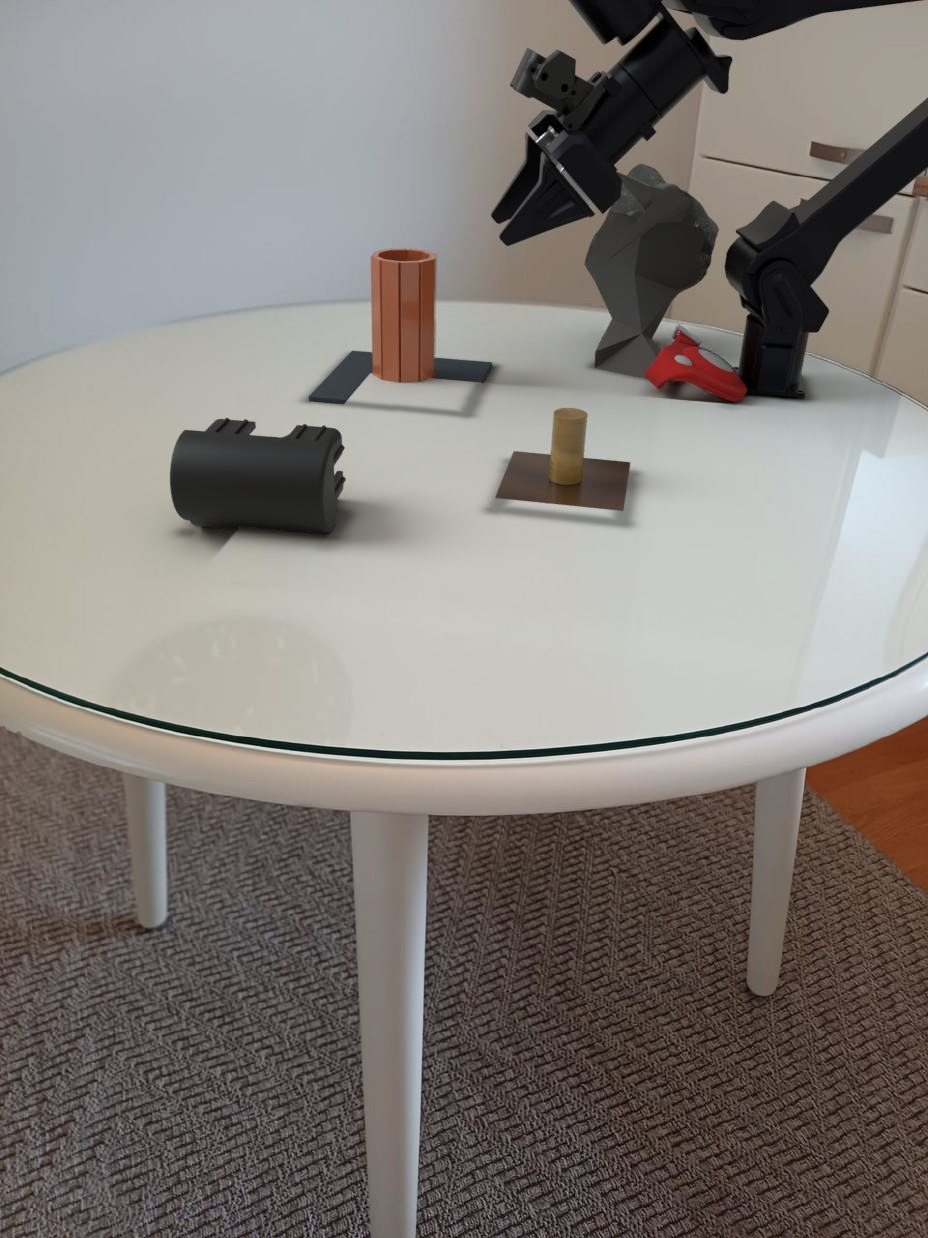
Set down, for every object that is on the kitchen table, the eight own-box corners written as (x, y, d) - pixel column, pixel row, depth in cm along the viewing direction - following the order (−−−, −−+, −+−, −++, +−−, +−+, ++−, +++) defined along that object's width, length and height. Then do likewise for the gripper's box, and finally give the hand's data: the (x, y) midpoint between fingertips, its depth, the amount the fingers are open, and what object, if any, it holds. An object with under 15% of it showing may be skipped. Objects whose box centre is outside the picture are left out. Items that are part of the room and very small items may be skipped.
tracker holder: (773, 390, 99) (705, 372, 92) (745, 430, 101) (676, 415, 94) (694, 320, 105) (626, 298, 99) (669, 359, 108) (601, 340, 101)
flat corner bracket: (352, 354, 107) (352, 350, 107) (492, 366, 105) (492, 361, 105) (308, 400, 95) (308, 396, 95) (465, 414, 93) (465, 410, 93)
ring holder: (512, 462, 84) (516, 387, 81) (629, 473, 83) (637, 398, 80) (494, 510, 77) (497, 429, 74) (622, 523, 75) (631, 441, 72)
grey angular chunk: (730, 346, 113) (759, 160, 104) (672, 384, 102) (699, 179, 93) (607, 322, 119) (623, 145, 110) (539, 356, 108) (551, 162, 99)
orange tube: (415, 365, 103) (416, 245, 98) (446, 383, 99) (448, 258, 93) (362, 373, 101) (360, 251, 95) (392, 392, 96) (391, 265, 91)
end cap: (175, 544, 71) (163, 446, 67) (213, 500, 77) (203, 408, 73) (324, 558, 70) (320, 459, 66) (351, 512, 76) (348, 419, 72)
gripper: (559, 6, 93) (429, 142, 98) (593, 12, 77) (436, 175, 82) (640, 109, 98) (512, 234, 103) (687, 135, 82) (533, 282, 87)
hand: (498, 230), depth 94 cm, fingers open, 9 cm apart
